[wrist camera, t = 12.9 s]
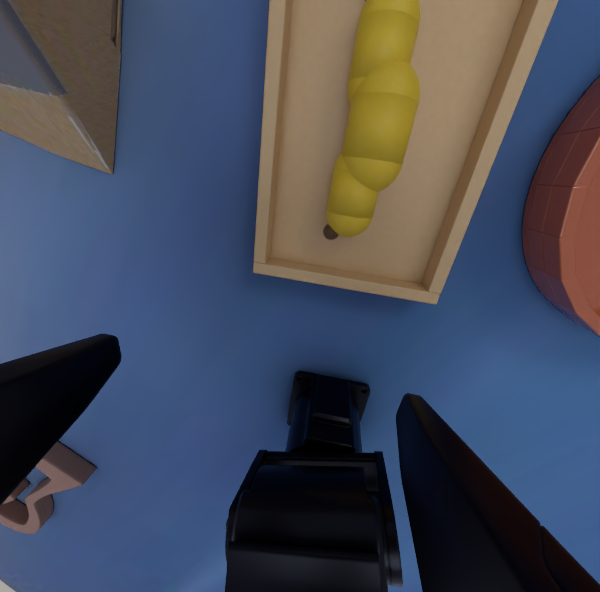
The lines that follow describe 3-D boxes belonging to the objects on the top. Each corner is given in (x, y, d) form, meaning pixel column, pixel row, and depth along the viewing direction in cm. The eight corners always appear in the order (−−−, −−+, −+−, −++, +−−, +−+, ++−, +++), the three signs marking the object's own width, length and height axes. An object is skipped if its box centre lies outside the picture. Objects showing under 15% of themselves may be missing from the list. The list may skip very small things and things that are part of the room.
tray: (427, 292, 19) (436, 305, 17) (260, 264, 20) (252, 273, 18) (568, -83, 11) (612, -132, 9) (287, -106, 12) (278, -155, 10)
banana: (375, 242, 17) (383, 256, 14) (322, 233, 18) (319, 245, 15) (439, -5, 12) (471, -60, 9) (363, -12, 13) (371, -68, 10)
